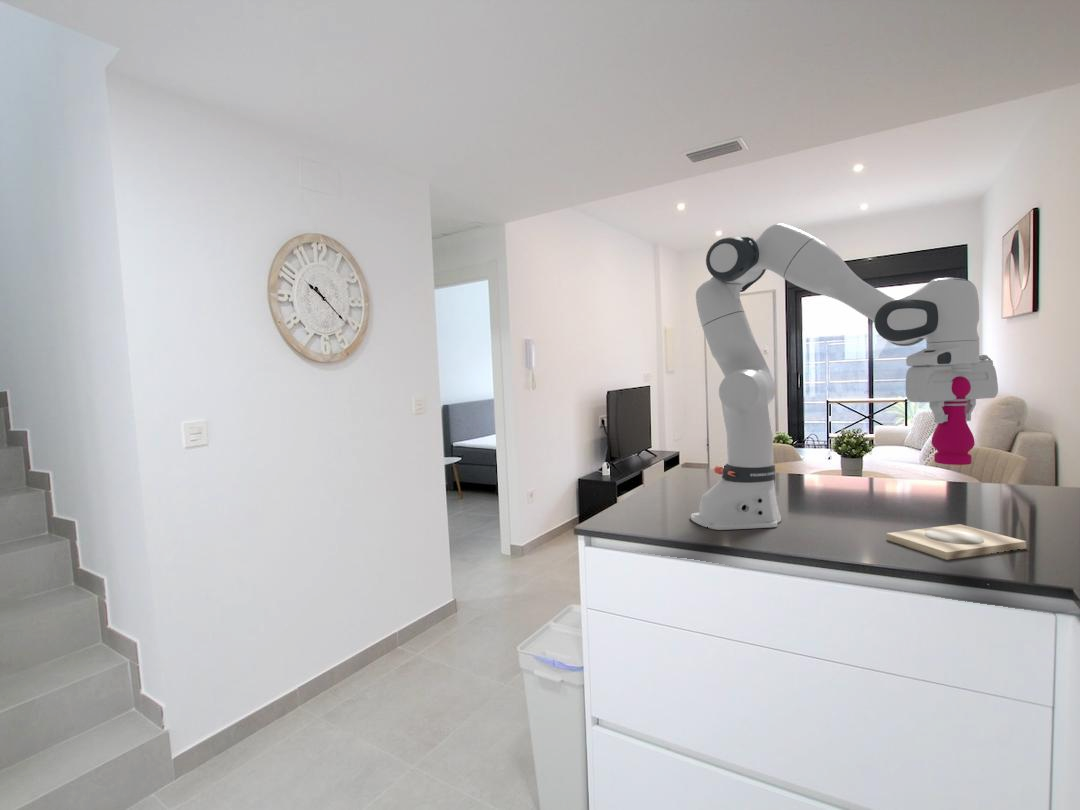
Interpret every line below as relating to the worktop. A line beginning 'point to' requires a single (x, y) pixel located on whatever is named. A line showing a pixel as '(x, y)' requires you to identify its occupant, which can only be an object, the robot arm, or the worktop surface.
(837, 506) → the worktop surface
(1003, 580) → the worktop surface
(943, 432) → the pepper mill
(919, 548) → the oak board
